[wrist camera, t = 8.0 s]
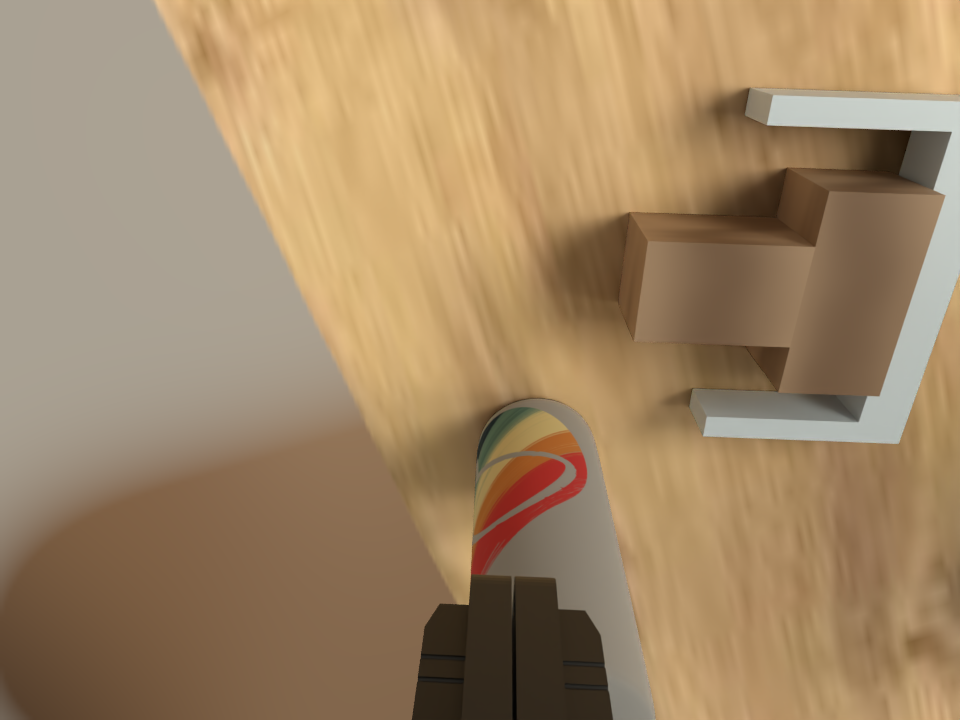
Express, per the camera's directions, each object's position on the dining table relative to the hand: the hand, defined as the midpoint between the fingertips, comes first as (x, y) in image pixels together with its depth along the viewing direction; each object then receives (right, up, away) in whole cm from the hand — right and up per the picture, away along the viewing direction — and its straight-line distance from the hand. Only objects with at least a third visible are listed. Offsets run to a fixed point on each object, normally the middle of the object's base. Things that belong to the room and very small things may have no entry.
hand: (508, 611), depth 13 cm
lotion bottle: (+2, 0, +22) cm, 22 cm away
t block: (+11, +9, +17) cm, 22 cm away
